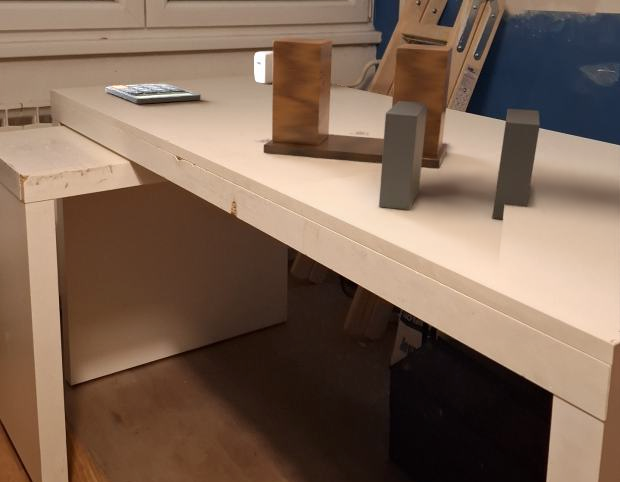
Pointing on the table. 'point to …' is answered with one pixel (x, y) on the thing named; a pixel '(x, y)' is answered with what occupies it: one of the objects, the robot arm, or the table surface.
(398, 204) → the grey rectangular blocks
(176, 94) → the calculator
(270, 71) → the power adapter
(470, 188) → the table surface
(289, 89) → the book rack
